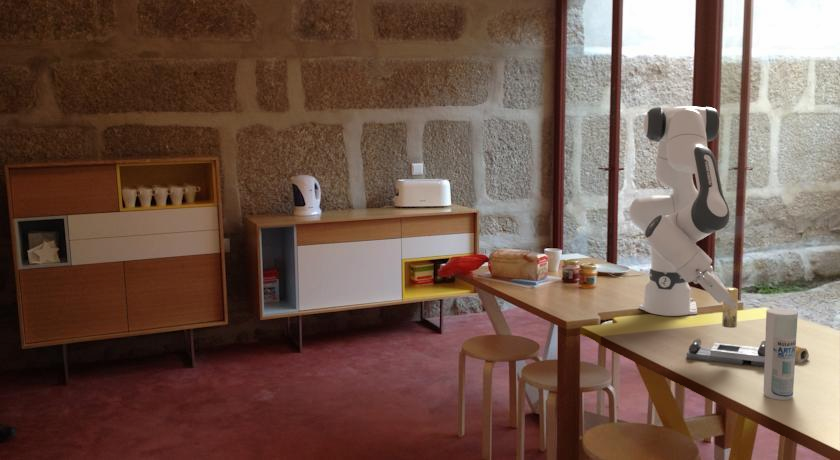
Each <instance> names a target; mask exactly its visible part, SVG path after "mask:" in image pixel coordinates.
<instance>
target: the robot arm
mask: <svg viewBox="0 0 840 460" xmlns="http://www.w3.org/2000/svg"><path fill="white" fill-rule="evenodd" d="M721 123H722V122H721V118H720V114H719V112H718V110H717V109H716V108H713V107H710V106H704V107H701V106H694V105H693V106H692V105H682V106H668V107H667V106H666V107H662V106H658V107H652V108H651V109H649V110H648V111H647V112H646V115H645V118H644V120H643V131H644V133H645V137H646V138H647V139H648V140H649V141H651V142H656V143H658V147H657V156H656V167H655V177H656V180H657V181H658V182H659V183H660V184H662V185H663V186H665V187H667V188H669V189H672V194H647V195H644V196H640V197H636V198H634V200H633V201H632V202H631V204H630V207H629V217H630V220H631V222H632V223H633V224H634V226H636V227H637V228H638V229H640V230H641V231H642V233H644V237H645V239H646V241H647V243H648V244H649V247H650V253H651V254H650V258H651V259H650V260H651V261H650V262H651V267H650V269H649V282H647V283H646V284H645V285H644V295H643V296H644V297H643V303H641V304H640V305H639V306H638V309H639V310H643V311H645V312H647V313H650V314H654V315H658V316H666V317H674V316H675V317H676V316H677V317H678V316H680V317H681V316H687V315H697V314H698V308H697V301H694V299H693V298H691V297H692V296H691V295H692V289H691V288H690V284H689V283H691V282H693V284H695V285H698V284H699V285H700V286H701V287H702V288H703V289H704V290H705V291H706V293H707V294H709V295H710V296H711V297H712V298H713V300H715V301H716V302H717V303H719V304H721V303H723V302H725V303H726V304H727V305H728V306H729V307H730V308H734V307H735V306H736V305H737V304H736V302H735V301H734V300H733V299H732V298H731V297H730V296H729V292H728V291H727V289H726V288H727V287H726V286H725V285H724V283H723V282H722V280H721V279H720V277H719V276H718V275H717V273H716V272H715V271H714V267H713V266H712V265H711V264H712V263H713V260H712V258H711V257H710V256H709V255H708V254H707V253H706V252H705V251H704V250H703V249H702V248H701V247H700V246H699V245H697V242H699V241H701V240H703V239H704V238H706V237H707V236H710V235H711V234H713V233H716V232H718V231H720V230H723V229H724V228H725V227H726V226H727V225H728V223H729V221H730V208H729V206H728V204H727V201H726V198H725V196H724V193H723V188H722V183H721V179H720V173H719V169H718V168H719V167H718V163H717V160H716V157H715V154H714V153H713V152H712V150H711V149H710V148H708V142H712V141H714V140H715V139H716V138H718V135H719V132H720V130H721V125H722V124H721ZM693 175H694V177H695V183H696V186H695V183H694V179H693V178H694V177H693Z"/></svg>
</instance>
